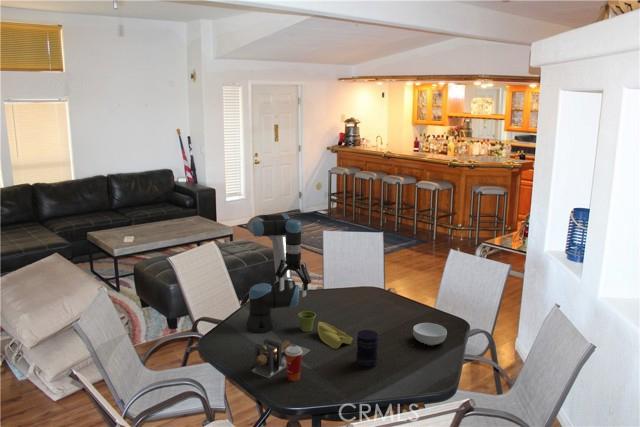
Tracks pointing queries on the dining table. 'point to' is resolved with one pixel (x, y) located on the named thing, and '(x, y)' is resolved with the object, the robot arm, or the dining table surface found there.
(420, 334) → the cereal bowl
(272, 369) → the rail
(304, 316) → the plant pot
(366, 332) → the storage jar
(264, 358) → the copper tube
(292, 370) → the paper cup
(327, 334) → the plastic component
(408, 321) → the dining table surface
